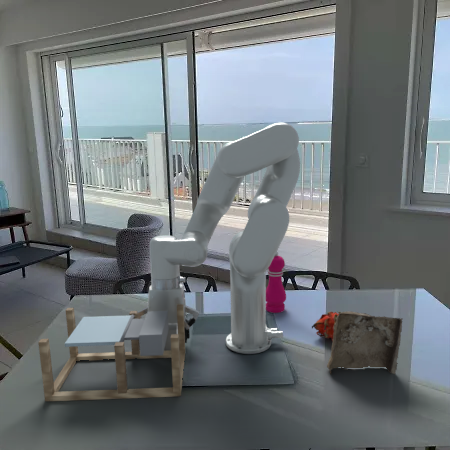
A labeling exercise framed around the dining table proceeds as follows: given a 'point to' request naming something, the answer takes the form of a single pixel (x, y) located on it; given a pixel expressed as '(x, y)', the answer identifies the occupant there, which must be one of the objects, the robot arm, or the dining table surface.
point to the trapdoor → (123, 331)
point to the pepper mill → (275, 286)
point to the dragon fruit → (326, 325)
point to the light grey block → (172, 330)
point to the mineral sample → (365, 341)
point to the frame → (119, 355)
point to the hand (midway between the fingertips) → (168, 341)
